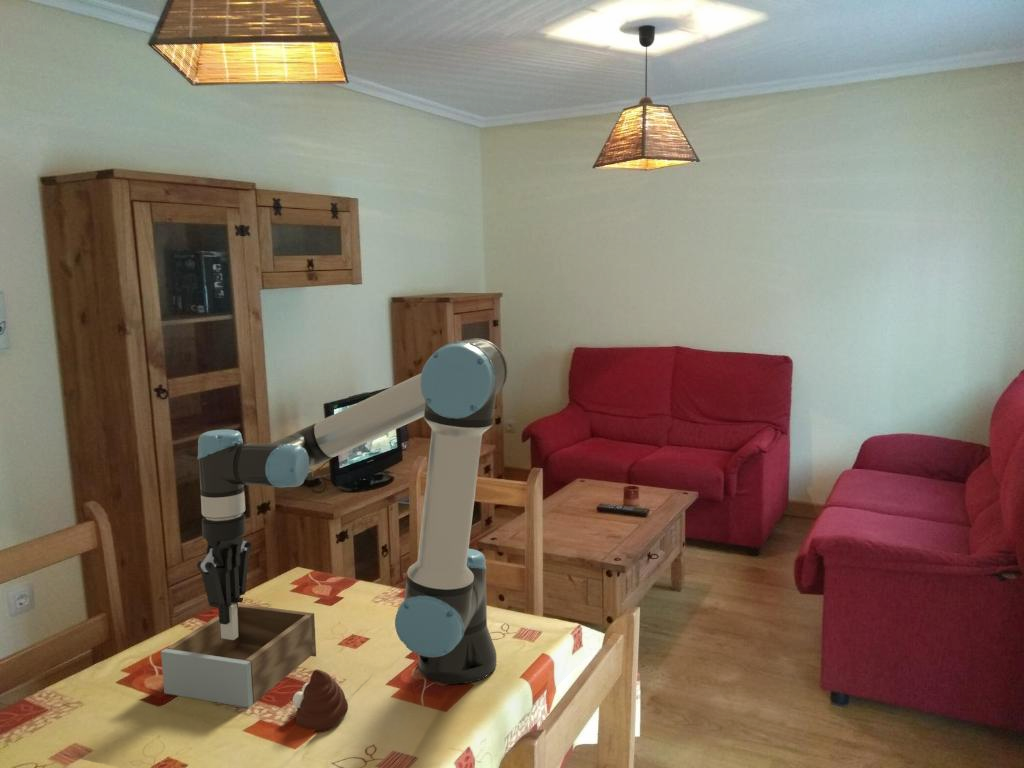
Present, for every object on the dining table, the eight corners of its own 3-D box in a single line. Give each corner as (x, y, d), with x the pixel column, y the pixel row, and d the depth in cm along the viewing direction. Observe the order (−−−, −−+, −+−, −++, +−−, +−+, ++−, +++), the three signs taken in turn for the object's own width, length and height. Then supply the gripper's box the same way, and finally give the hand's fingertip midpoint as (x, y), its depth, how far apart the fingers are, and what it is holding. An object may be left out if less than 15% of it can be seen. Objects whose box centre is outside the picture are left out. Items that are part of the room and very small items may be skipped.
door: (168, 689, 144) (165, 648, 143) (253, 704, 138) (250, 661, 137) (164, 693, 142) (160, 651, 141) (248, 707, 137) (246, 664, 136)
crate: (240, 644, 163) (237, 603, 162) (316, 655, 158) (314, 613, 157) (170, 694, 144) (166, 647, 143) (254, 708, 139) (251, 660, 138)
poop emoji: (331, 738, 130) (328, 684, 128) (284, 732, 132) (281, 679, 130) (356, 706, 139) (354, 656, 138) (312, 701, 141) (310, 651, 140)
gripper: (228, 503, 151) (234, 620, 154) (181, 523, 138) (189, 650, 141) (262, 506, 148) (267, 625, 151) (217, 527, 136) (224, 656, 139)
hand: (229, 637), depth 146 cm, fingers closed
